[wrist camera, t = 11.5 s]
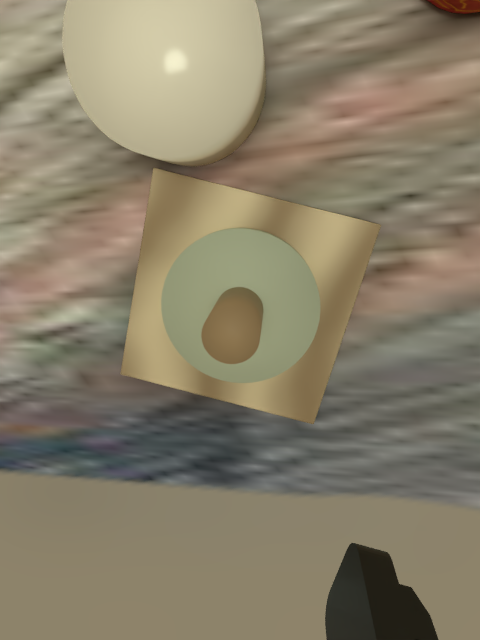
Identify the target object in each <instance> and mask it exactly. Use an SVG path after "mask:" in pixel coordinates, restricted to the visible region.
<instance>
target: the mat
mask: <svg viewBox="0 0 480 640" xmlns="http://www.w3.org/2000/svg"><path fill="white" fill-rule="evenodd" d="M380 227H381V225H380V224H376V223H372V222H368V221H364V220H360V219H356V218H352V217H348V216H344V215H340V214H336V213H332V212H328V211H324V210H320V209H316V208H312V207H308V206H304V205H300V204H296V203H292V202H288V201H284V200H280V199H276V198H272V197H268V196H264V195H260V194H256V193H252V192H248V191H244V190H240V189H236V188H232V187H228V186H224V185H220V184H216V183H212V182H208V181H204V180H200V179H196V178H192V177H188V176H184V175H180V174H176V173H172V172H168V171H164V170H160V169H156V168H153V174H152V180H151V187H150V193H149V199H148V205H147V212H146V218H145V224H144V230H143V237H142V243H141V249H140V256H139V262H138V268H137V274H136V281H135V287H134V293H133V299H132V306H131V312H130V318H129V325H128V331H127V337H126V343H125V350H124V356H123V362H122V368H121V374H122V375H126V376H130V377H134V378H138V379H141V380H145V381H149V382H153V383H157V384H161V385H165V386H168V387H172V388H176V389H180V390H184V391H188V392H191V393H195V394H199V395H203V396H207V397H211V398H214V399H218V400H222V401H226V402H230V403H234V404H238V405H241V406H245V407H249V408H253V409H257V410H261V411H264V412H268V413H272V414H276V415H280V416H284V417H287V418H291V419H295V420H299V421H303V422H307V423H311V424H314V421H315V418H316V415H317V412H318V409H319V406H320V403H321V400H322V398H323V395H324V392H325V389H326V386H327V383H328V380H329V377H330V374H331V371H332V368H333V365H334V362H335V359H336V356H337V353H338V350H339V347H340V345H341V342H342V339H343V336H344V333H345V330H346V327H347V324H348V321H349V318H350V315H351V312H352V309H353V306H354V303H355V300H356V297H357V294H358V292H359V289H360V286H361V283H362V280H363V277H364V274H365V271H366V268H367V265H368V262H369V259H370V256H371V253H372V250H373V247H374V244H375V241H376V239H377V236H378V233H379V230H380ZM228 228H252V229H257V230H262V231H265V232H268V233H270V234H273V235H275V236H277V237H279V238H281V239H282V240H284V241H285V242H287V243H288V244H289V245H291V246H292V247H293V248H294V249H295V250H296V251H297V252H298V253H299V254H300V255H301V256H302V257H303V259H304V260H305V262H306V263H307V265H308V266H309V268H310V270H311V272H312V274H313V276H314V278H315V281H316V284H317V287H318V291H319V297H320V320H319V324H318V328H317V332H316V334H315V337H314V339H313V341H312V343H311V345H310V347H309V348H308V350H307V351H306V352H305V354H304V355H303V356H302V357H301V358H300V359H299V360H298V361H297V362H296V363H295V364H294V365H293V366H292V367H290V368H289V369H288V370H286V371H284V372H283V373H281V374H279V375H277V376H275V377H272V378H270V379H266V380H263V381H259V382H253V383H233V382H227V381H222V380H219V379H216V378H213V377H211V376H208V375H206V374H204V373H202V372H201V371H199V370H197V369H196V368H194V367H193V366H192V365H191V364H189V363H188V362H187V361H186V360H185V359H184V358H183V357H182V356H181V355H180V354H179V352H178V351H177V350H176V348H175V347H174V345H173V344H172V342H171V340H170V339H169V336H168V334H167V332H166V329H165V326H164V322H163V318H162V311H161V298H162V290H163V286H164V282H165V279H166V277H167V274H168V272H169V270H170V268H171V267H172V265H173V263H174V262H175V260H176V259H177V258H178V257H179V255H180V254H181V253H182V252H183V251H184V250H185V249H186V248H187V247H189V246H190V245H191V244H193V243H194V242H195V241H197V240H199V239H201V238H203V237H204V236H206V235H208V234H211V233H213V232H216V231H219V230H224V229H228Z"/></svg>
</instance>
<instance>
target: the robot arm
mask: <svg viewBox="0 0 480 640" xmlns="http://www.w3.org/2000/svg"><path fill="white" fill-rule="evenodd" d="M325 621H326V622H325V625H326V636H327V640H438V637H437V634H436V631H435V628H434V626H433V623H432V620H431V617H430V615H429V613H428V612H427V610H426V609H425V607H424V606H423V604H422V603H421V601H420V600H419V598H418V597H417V595H416V594H415V592H414V591H413V589H412V588H411V587H408V586H404V585H400V584H399V583H398V579H397V576H396V573H395V569H394V566H393V562H392V560H391V557H390V555H389V554H388V553H387V552H384V551H381V550H377V549H373V548H369V547H366V546H362V545H359V544H355V543H351V544H350V545H349V547H348V549H347V551H346V553H345V556H344V558H343V561H342V563H341V566H340V568H339V570H338V573H337V575H336V577H335V580H334V582H333V585H332V587H331V590H330V592H329V595H328V599H327V605H326V617H325Z"/></svg>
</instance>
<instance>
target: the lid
mask: <svg viewBox="0 0 480 640" xmlns="http://www.w3.org/2000/svg"><path fill="white" fill-rule="evenodd" d="M161 311H162V318H163V322H164V326H165V329H166V332H167V334H168V336H169V339H170V340H171V342H172V344H173V345H174V347H175V348H176V350H177V351H178V352H179V354H180V355H181V356H182V357H183V358H184V359H185V360H186V361H187V362H188V363H189V364H191V365H192V366H193V367H194V368H196V369H197V370H199V371H201V372H202V373H204V374H206V375H208V376H211V377H213V378H216V379H219V380H222V381H227V382H233V383H253V382H259V381H263V380H266V379H270V378H272V377H275V376H277V375H279V374H281V373H283V372H284V371H286V370H288V369H289V368H290V367H292V366H293V365H294V364H295V363H296V362H297V361H298V360H299V359H300V358H301V357H302V356H303V355H304V354H305V352H306V351H307V350H308V348H309V347H310V345H311V343H312V341H313V339H314V337H315V334H316V332H317V328H318V324H319V320H320V297H319V291H318V287H317V284H316V281H315V278H314V276H313V274H312V272H311V270H310V268H309V266H308V265H307V263H306V262H305V260H304V259H303V257H302V256H301V255H300V254H299V253H298V252H297V251H296V250H295V249H294V248H293V247H292V246H291V245H289V244H288V243H287V242H285V241H284V240H282V239H281V238H279V237H277V236H275V235H273V234H270V233H268V232H265V231H262V230H257V229H252V228H228V229H224V230H219V231H216V232H213V233H211V234H208V235H206V236H204V237H203V238H201V239H199V240H197V241H195V242H194V243H193V244H191V245H190V246H189V247H187V248H186V249H185V250H184V251H183V252H182V253H181V254H180V255H179V257H178V258H177V259H176V260H175V262H174V263H173V265H172V267H171V268H170V270H169V272H168V274H167V277H166V279H165V282H164V286H163V290H162V298H161Z"/></svg>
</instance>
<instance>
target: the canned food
mask: <svg viewBox="0 0 480 640" xmlns="http://www.w3.org/2000/svg"><path fill="white" fill-rule="evenodd" d="M428 1H429V2H430V3H432V4H433V5H435V6H436V7H438V8H440V9H443V10H445V11H448V12H451V13H461V14H467V13H474V12H480V0H428Z"/></svg>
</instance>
